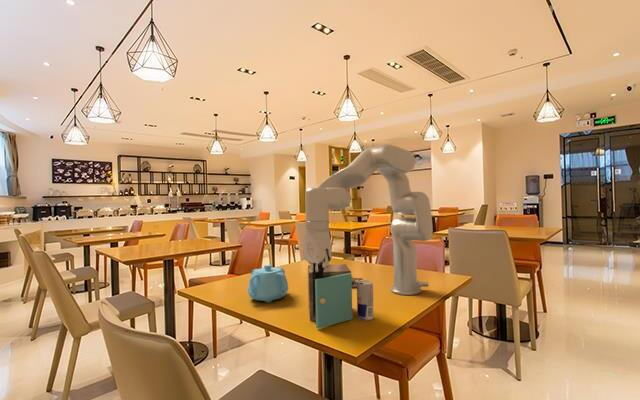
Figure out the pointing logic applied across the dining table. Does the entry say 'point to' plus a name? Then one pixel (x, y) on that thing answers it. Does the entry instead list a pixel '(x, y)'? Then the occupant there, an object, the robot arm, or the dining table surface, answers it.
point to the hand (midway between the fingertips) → (318, 283)
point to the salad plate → (355, 281)
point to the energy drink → (365, 300)
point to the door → (333, 299)
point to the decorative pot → (267, 284)
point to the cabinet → (328, 272)
